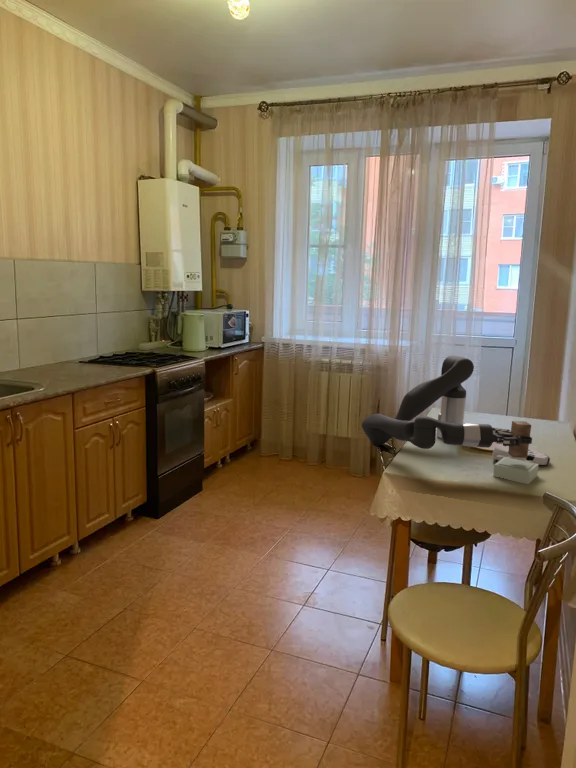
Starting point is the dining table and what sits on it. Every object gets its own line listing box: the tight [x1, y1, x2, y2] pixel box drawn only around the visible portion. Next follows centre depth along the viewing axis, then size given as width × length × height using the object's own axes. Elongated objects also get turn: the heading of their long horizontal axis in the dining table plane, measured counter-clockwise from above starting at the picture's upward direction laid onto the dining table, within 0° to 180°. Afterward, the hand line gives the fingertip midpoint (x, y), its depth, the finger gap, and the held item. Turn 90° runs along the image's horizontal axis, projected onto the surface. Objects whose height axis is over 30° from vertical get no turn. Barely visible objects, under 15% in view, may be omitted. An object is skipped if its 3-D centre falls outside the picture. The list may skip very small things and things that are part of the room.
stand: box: [492, 457, 539, 485], centre depth 187 cm, size 11×11×4 cm
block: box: [508, 420, 532, 458], centre depth 185 cm, size 4×4×11 cm
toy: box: [491, 445, 551, 466], centre depth 203 cm, size 22×5×20 cm
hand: (528, 438), depth 185 cm, fingers closed on block, 4 cm apart
